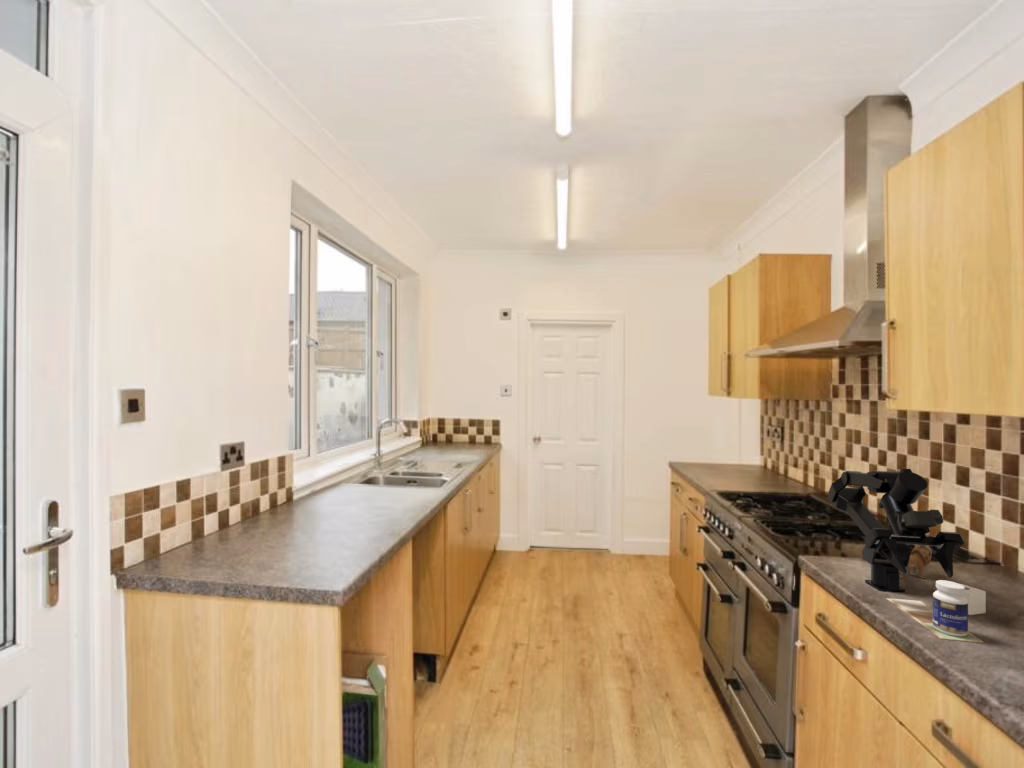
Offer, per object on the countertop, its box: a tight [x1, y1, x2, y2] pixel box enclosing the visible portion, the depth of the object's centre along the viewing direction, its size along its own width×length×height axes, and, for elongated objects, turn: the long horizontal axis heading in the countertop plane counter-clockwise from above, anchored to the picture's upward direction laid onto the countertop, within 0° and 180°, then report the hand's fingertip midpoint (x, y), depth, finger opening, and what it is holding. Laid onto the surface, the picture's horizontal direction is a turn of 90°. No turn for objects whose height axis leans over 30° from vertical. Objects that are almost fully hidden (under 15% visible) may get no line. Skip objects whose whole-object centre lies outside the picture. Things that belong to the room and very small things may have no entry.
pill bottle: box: [932, 579, 969, 637], centre depth 108 cm, size 6×6×10 cm
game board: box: [886, 597, 984, 644], centre depth 115 cm, size 21×8×1 cm, turn 169°
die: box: [960, 583, 987, 616], centre depth 120 cm, size 5×5×5 cm
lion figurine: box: [900, 545, 933, 579], centre depth 143 cm, size 15×5×9 cm, turn 96°
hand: (928, 574), depth 116 cm, fingers open, 9 cm apart
